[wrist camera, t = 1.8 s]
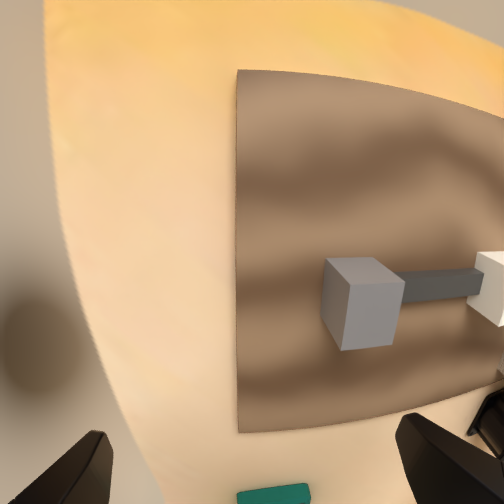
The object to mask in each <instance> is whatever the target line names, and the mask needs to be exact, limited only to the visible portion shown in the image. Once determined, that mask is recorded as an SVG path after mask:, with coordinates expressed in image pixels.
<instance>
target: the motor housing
mask: <svg viewBox="0 0 504 504" xmlns="http://www.w3.org/2000/svg"><path fill="white" fill-rule="evenodd" d="M497 369H498V370H499V371H500V372H501V373H502V374H503V375H504V352H503V354H502V357H501V359H500V362H499V364H498V367H497Z"/></svg>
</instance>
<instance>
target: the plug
mask: <svg viewBox="0 0 504 504" xmlns="http://www.w3.org/2000/svg"><path fill="white" fill-rule="evenodd" d="M463 296H468V298H467V302H466V303H467V304H468V305H470V306H471V307H472V308H474V309H475V310H477V311H478V312H479V313H481V314H482V315H483V316H485V317H486V318H487V319H489V320H490V321H491V322H493V323H494V324H495V325H497V326H498V327H500V326H504V251H496V252H477V256H476V262H475V267H474V268H462V269H444V270H425V271H404V272H392V271H390V270H389V269H388V268H387V267H385V266H384V265H383V264H381V263H380V262H379V261H377V260H376V259H375V258H373V257H352V258H325V270H324V281H323V291H322V301H321V311H320V316H321V317H322V319H323V321H324V323H325V324H326V326H327V328H328V329H329V331H330V333H331V335H332V337H333V338H334V340H335V342H336V344H337V345H338V347H339V349H340V351H344V350H353V349H362V348H370V347H378V346H385V345H392V343H393V339H394V335H395V330H396V326H397V321H398V317H399V312H400V307H401V303H409V302H419V301H429V300H438V299H447V298H455V297H463Z"/></svg>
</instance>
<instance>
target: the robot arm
mask: <svg viewBox="0 0 504 504" xmlns="http://www.w3.org/2000/svg"><path fill="white" fill-rule="evenodd" d="M476 433H478V434H479V436H480V437H481V438H482V439H483V441H484V442H485V443H486V445H487V446H488V447H489V449H490V450H491V451H492V453H493V454H494V455H495V457H496V458H495V457H493V456H492V455H490V454H488V453H486V452H484V451H482V450H481V449H479V448H477V447H475V446H473V445H472V444H470V443H468V442H466V441H465V440H463V439H461V438H459V437H457V436H456V435H454V434H452V433H451V432H449V431H447V430H445V429H444V428H442V427H440V426H438V425H437V424H435V423H433V422H432V421H430V420H428V419H427V418H425V417H423V416H422V415H420V414H418V413H410V414H406V415H404V416H403V417H402V419H401V421H400V424H399V426H398V428H397V431H396V434H395V439H396V443H397V446H398V449H399V453H400V456H401V460H402V463H403V467H404V470H405V474H406V477H407V480H408V482H409V485H410V487H411V490H412V492H413V495H414V497H415V499H416V502H417V504H504V389H502V390H500V391H498V392H495V393H493V394H490V395H488V396H487V397H486V399H485V401H484V403H483V405H482V407H481V408H480V410H479V412H478V414H477V416H476V418H475V420H474V422H473V423H472V425H471V427H470V429H469V431H468V432H467V435H468V436H472V435H474V434H476ZM112 465H113V449H112V447H111V444H110V442H109V440H108V437H107V435H106V433H105V432H103V431H96V430H91V431H89V432H88V433H87V434H86V435H85V436H84V437H83V438H82V439H80V440H79V441H78V442H77V443H76V444H75V445H74V446H73V447H72V448H71V449H69V450H68V451H67V452H66V453H65V454H64V455H63V456H62V457H60V458H59V459H58V460H57V461H56V462H55V463H54V464H53V465H51V466H50V467H49V468H48V469H47V470H46V471H45V472H44V473H43V474H41V475H40V476H39V477H38V478H37V479H36V480H34V481H33V482H32V483H31V484H30V485H29V486H28V487H27V488H25V489H24V490H23V491H22V492H21V493H20V494H18V495H17V496H16V497H15V499H13V500H12V501H10V502H9V503H8V504H108V503H109V498H110V486H111V475H112Z"/></svg>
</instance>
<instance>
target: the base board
mask: <svg viewBox="0 0 504 504" xmlns="http://www.w3.org/2000/svg"><path fill="white" fill-rule="evenodd" d="M496 251H504V119H503V118H501V117H498V116H495V115H492V114H490V113H487V112H484V111H481V110H478V109H475V108H472V107H469V106H466V105H463V104H460V103H456V102H453V101H450V100H446V99H443V98H439V97H435V96H432V95H428V94H424V93H420V92H416V91H412V90H407V89H403V88H398V87H394V86H389V85H384V84H379V83H373V82H368V81H362V80H355V79H349V78H342V77H335V76H327V75H318V74H309V73H298V72H285V71H269V70H238V72H237V113H236V334H237V395H238V429H239V433H253V432H270V431H282V430H293V429H302V428H311V427H319V426H326V425H333V424H340V423H346V422H352V421H357V420H363V419H368V418H373V417H378V416H383V415H387V414H392V413H396V412H401V411H405V410H409V409H413V408H417V407H420V406H424V405H428V404H431V403H435V402H438V401H442V400H445V399H448V398H451V397H454V396H458V395H461V394H464V393H467V392H470V391H472V390H475V389H478V388H481V387H484V386H486V385H489V384H492V383H494V382H497V381H499V380H502V379H504V375H503V374H502V373H501V372H500V371H499V370H498V369H497V367H498V364H499V362H500V359H501V357H502V354H503V352H504V326H500V327H498V326H497V325H495V324H494V323H493V322H491V321H490V320H489V319H487V318H486V317H485V316H483V315H482V314H481V313H479V312H478V311H477V310H475V309H474V308H472V307H471V306H470V305H468V304H467V303H466V302H467V298H468V296H463V297H455V298H447V299H438V300H429V301H419V302H409V303H401V307H400V312H399V317H398V321H397V326H396V330H395V335H394V339H393V343H392V345H385V346H378V347H370V348H362V349H353V350H344V351H340V349H339V347H338V345H337V344H336V342H335V340H334V338H333V337H332V335H331V333H330V331H329V329H328V328H327V326H326V324H325V323H324V321H323V319H322V317H321V316H320V311H321V301H322V291H323V281H324V270H325V258H352V257H373V258H375V259H376V260H377V261H379V262H380V263H381V264H383V265H384V266H385V267H387V268H388V269H389V270H390V271H392V272H404V271H425V270H444V269H462V268H474V267H475V262H476V256H477V252H496Z"/></svg>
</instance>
